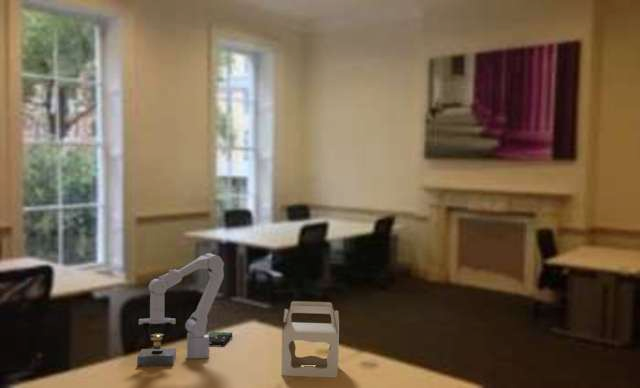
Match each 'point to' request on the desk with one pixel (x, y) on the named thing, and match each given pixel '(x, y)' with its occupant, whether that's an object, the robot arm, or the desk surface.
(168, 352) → the block
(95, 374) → the desk surface
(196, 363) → the desk surface
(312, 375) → the gable box
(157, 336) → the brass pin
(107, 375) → the desk surface
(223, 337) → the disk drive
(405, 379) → the desk surface
